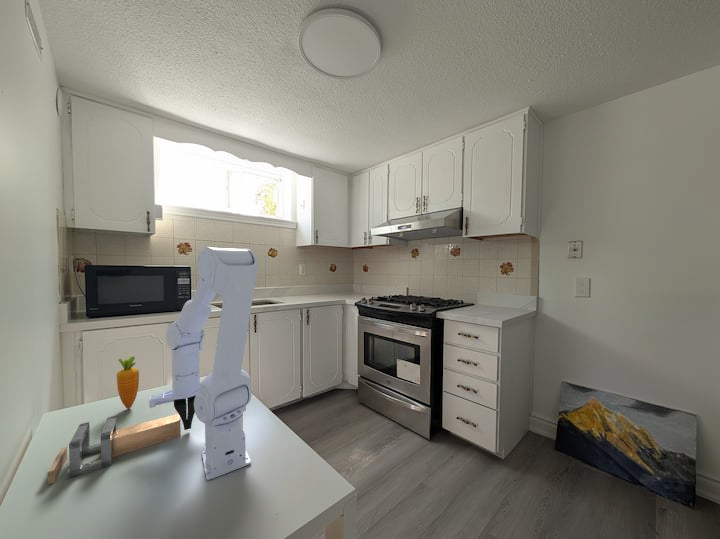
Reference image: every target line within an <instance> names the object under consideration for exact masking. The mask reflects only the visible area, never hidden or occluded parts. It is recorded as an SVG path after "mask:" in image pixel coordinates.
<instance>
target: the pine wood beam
mask: <svg viewBox="0 0 720 539" xmlns="http://www.w3.org/2000/svg"><path fill="white" fill-rule="evenodd" d="M181 426H182V425H181V417H180V415H179V414H178V413H176V414H171V415H168V416H163V417H160V418H157V419H152V420H149V421H145V422H142V423H138V424H134V425H130V426H126V427H122V428H119V429H117V430H115V431H113V433H112V458H114V457H118V456H120V455H124V454H127V453H130V452H133V451H136V450H140V449H144V448H146V447H150V446H152V445H156V444H159V443H164V442H166V441H170V440H172V439H173V440H174V439H176V438H179V437H181V435H182V434H181V433H182V431H181V429H182V428H181Z"/></svg>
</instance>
